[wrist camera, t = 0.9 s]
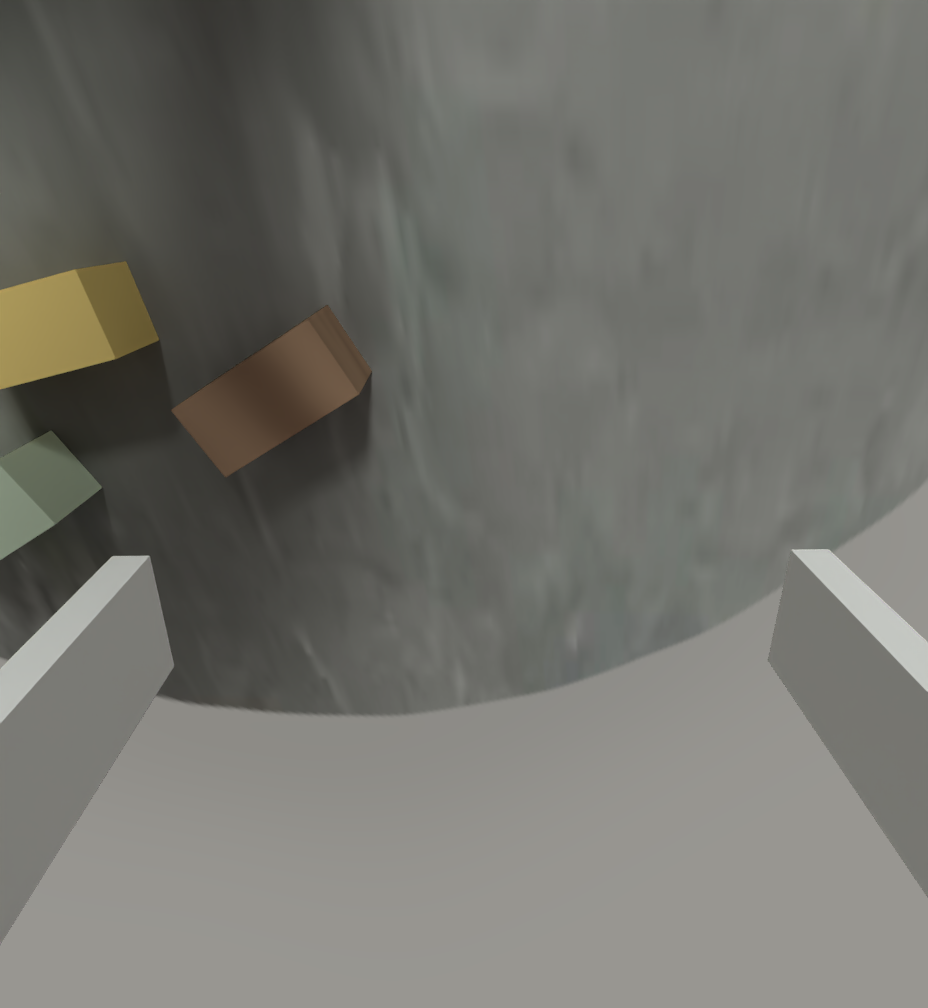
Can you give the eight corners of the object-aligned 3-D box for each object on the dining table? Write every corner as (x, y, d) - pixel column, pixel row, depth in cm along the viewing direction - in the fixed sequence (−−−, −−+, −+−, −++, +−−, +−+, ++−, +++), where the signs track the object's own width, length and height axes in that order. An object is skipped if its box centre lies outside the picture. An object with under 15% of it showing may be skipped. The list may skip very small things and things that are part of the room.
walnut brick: (254, 444, 38) (225, 477, 33) (207, 384, 36) (170, 410, 32) (372, 370, 36) (359, 394, 32) (327, 304, 35) (307, 319, 30)
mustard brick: (21, 376, 36) (-43, 400, 32) (-18, 301, 35) (-91, 315, 30) (160, 339, 35) (115, 359, 31) (127, 261, 34) (75, 269, 29)
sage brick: (4, 551, 40) (-55, 595, 36) (-49, 498, 39) (-116, 537, 34) (103, 486, 39) (55, 524, 34) (52, 429, 37) (-5, 460, 33)
